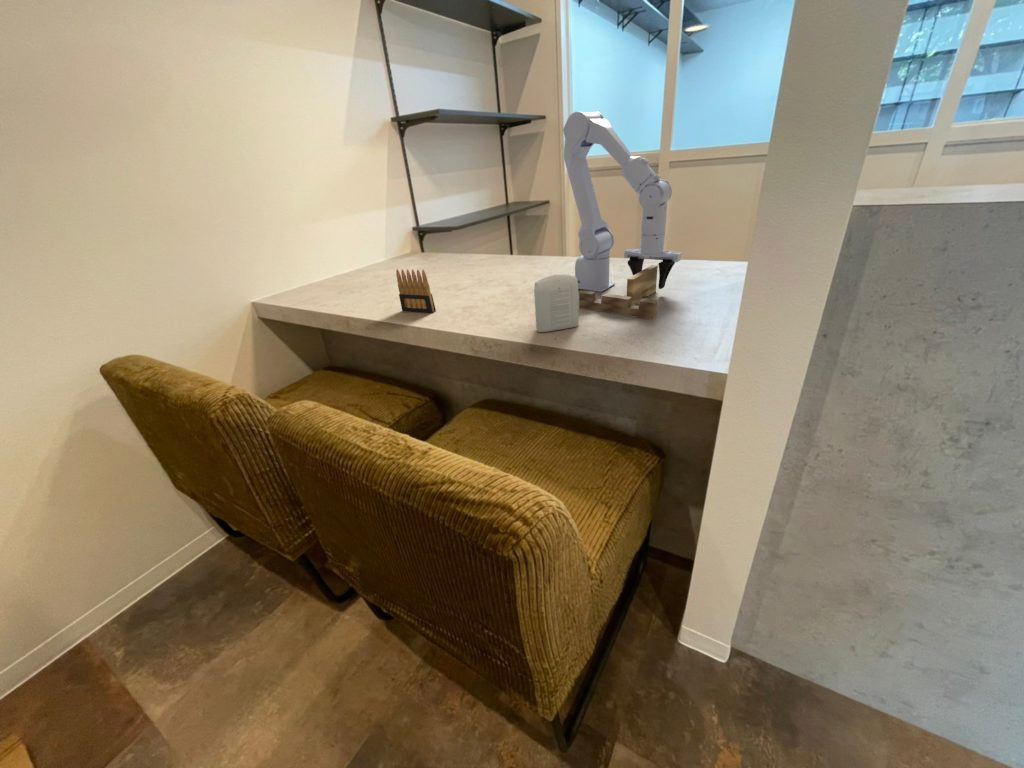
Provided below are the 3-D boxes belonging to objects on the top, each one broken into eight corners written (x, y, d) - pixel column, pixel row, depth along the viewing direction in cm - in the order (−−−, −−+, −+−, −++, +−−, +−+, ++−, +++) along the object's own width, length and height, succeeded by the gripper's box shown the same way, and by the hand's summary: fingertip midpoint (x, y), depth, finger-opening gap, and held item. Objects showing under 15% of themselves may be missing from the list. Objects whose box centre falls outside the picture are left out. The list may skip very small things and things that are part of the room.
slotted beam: (579, 307, 108) (579, 292, 106) (583, 305, 109) (583, 290, 107) (652, 319, 96) (653, 303, 94) (656, 317, 97) (657, 300, 95)
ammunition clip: (436, 311, 117) (427, 268, 111) (432, 313, 116) (423, 270, 110) (405, 309, 121) (396, 268, 116) (402, 311, 120) (392, 270, 114)
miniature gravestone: (575, 321, 100) (573, 269, 94) (581, 327, 96) (580, 274, 90) (534, 328, 99) (530, 277, 93) (539, 334, 95) (535, 281, 89)
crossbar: (626, 305, 106) (627, 278, 102) (650, 290, 114) (652, 264, 111) (632, 306, 105) (633, 279, 101) (655, 291, 114) (657, 265, 110)
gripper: (619, 235, 107) (617, 287, 113) (674, 238, 98) (669, 294, 105) (632, 230, 111) (629, 280, 118) (686, 232, 102) (680, 286, 109)
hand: (649, 286), depth 112 cm, fingers open, 6 cm apart
